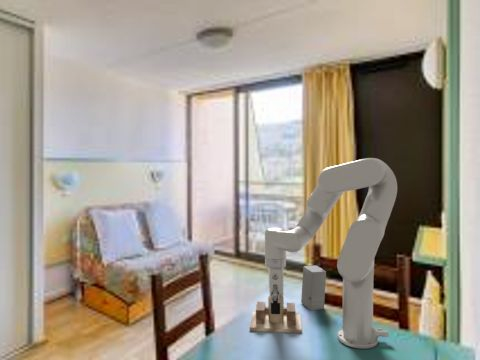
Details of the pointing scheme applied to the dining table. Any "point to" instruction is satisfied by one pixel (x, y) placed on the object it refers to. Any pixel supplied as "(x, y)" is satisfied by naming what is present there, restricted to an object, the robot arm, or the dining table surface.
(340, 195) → the robot arm
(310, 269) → the skincare box
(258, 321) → the holder
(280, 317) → the candle
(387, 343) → the dining table surface
